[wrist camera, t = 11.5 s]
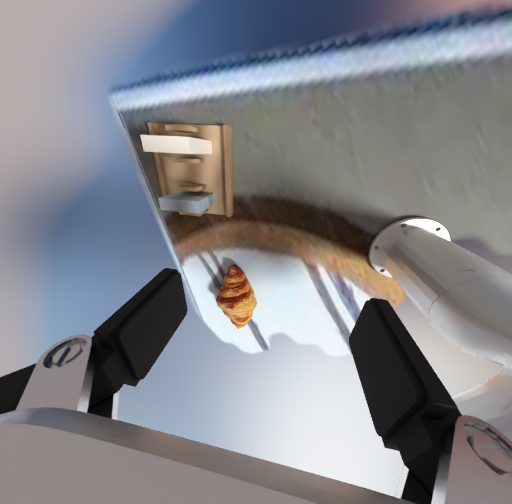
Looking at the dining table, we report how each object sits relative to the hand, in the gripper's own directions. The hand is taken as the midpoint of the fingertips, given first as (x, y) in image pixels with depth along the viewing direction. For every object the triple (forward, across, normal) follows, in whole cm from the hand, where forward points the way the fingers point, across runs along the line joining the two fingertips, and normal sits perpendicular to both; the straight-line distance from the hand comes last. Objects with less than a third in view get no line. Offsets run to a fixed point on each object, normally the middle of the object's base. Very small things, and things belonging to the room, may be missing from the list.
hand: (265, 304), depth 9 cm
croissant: (+29, +9, +26) cm, 40 cm away
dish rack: (+28, +17, -3) cm, 33 cm away
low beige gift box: (+27, +17, -7) cm, 33 cm away
